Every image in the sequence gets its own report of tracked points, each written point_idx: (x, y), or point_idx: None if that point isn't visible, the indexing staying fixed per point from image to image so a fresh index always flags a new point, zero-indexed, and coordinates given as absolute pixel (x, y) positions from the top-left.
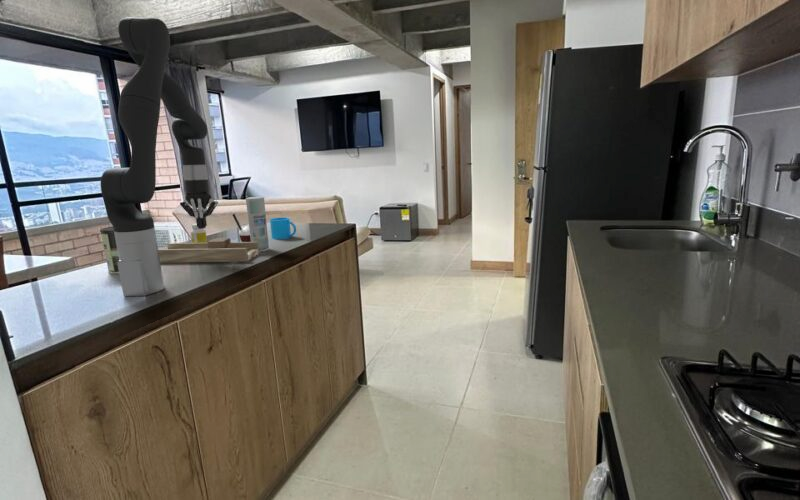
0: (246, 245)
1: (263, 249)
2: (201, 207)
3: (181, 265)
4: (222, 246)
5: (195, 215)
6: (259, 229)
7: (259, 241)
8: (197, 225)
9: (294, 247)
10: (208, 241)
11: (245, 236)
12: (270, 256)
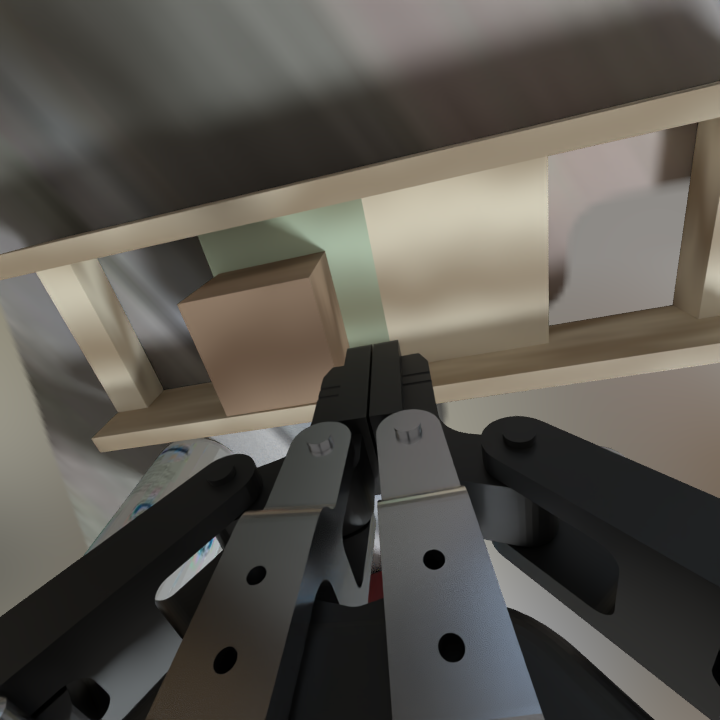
0: (168, 416)
1: (158, 456)
2: (214, 592)
3: (432, 40)
4: (204, 289)
5: (428, 439)
6: (87, 551)
7: (140, 483)
8: (418, 362)
9: (83, 522)
10: (305, 285)
11: (374, 599)
12: (32, 363)
